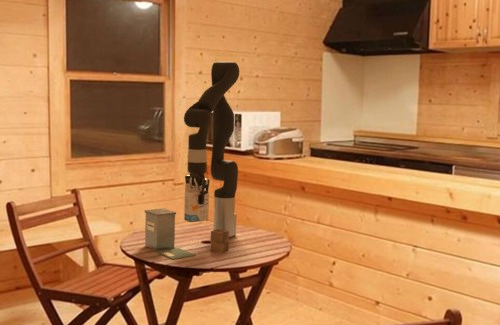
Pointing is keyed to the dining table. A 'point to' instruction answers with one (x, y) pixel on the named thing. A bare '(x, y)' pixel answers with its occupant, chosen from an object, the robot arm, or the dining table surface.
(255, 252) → the dining table surface
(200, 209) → the ink box
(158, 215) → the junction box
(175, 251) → the pad
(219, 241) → the walnut block
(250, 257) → the dining table surface
